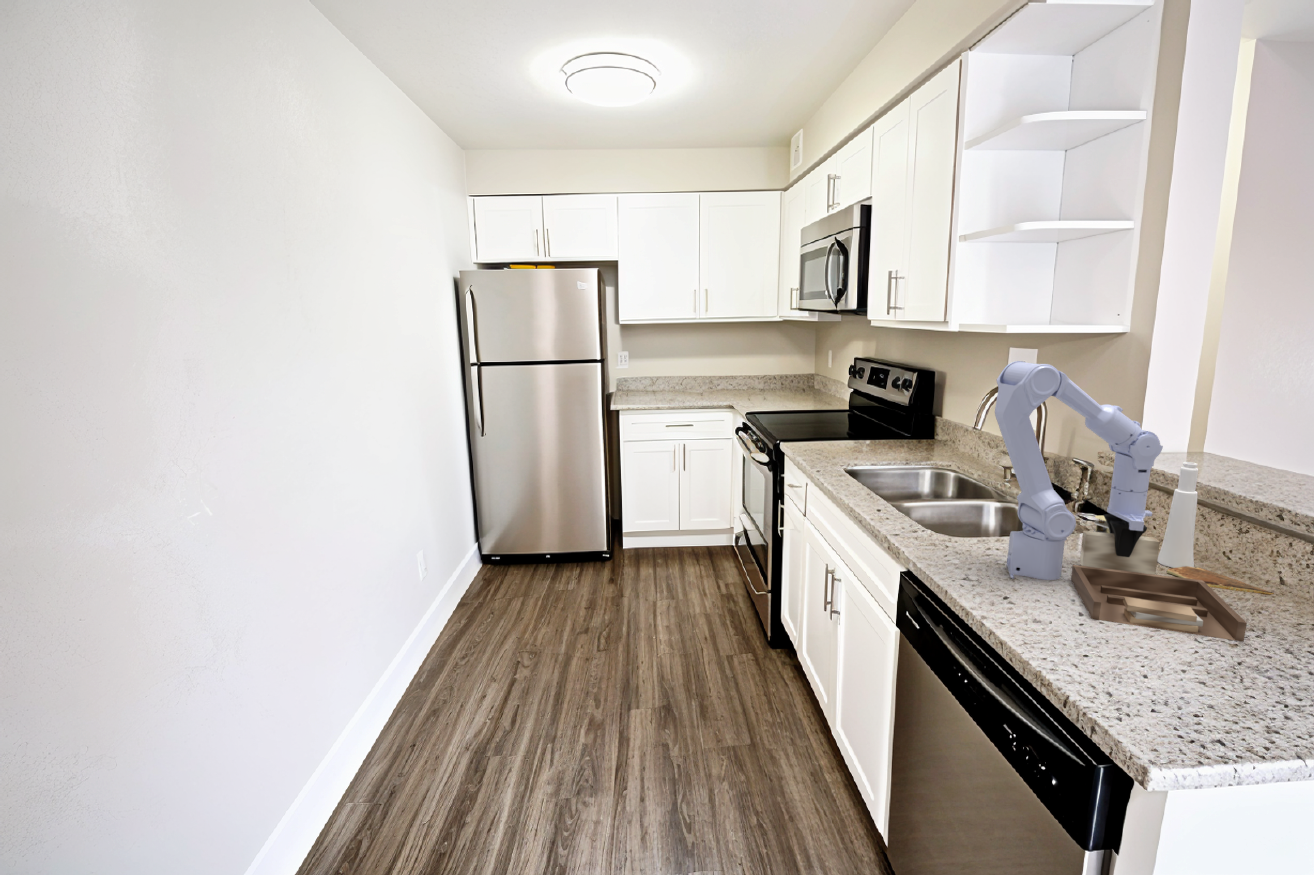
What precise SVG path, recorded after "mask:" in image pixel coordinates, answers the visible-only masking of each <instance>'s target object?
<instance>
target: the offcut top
mask: <svg viewBox="0 0 1314 875" xmlns="http://www.w3.org/2000/svg"><path fill="white" fill-rule="evenodd" d="M1123 602H1124V605H1125V607H1126V609H1127V611H1133V612H1139V613H1145V614H1150V615H1156V616H1162V617H1168V618H1174V619H1180V620H1186V621H1192V622H1196V621H1197V616H1196V614H1195V613H1194V611H1193V610H1192V608H1191V607H1186V606H1180V605H1173V604H1167V603H1161V602H1155V601H1149V600H1142V599H1136V598H1130V597H1124V600H1123Z"/></svg>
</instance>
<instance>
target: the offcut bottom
mask: <svg viewBox="0 0 1314 875" xmlns="http://www.w3.org/2000/svg"><path fill="white" fill-rule="evenodd" d="M1124 614H1125V616H1126V617H1127V619H1128V620H1129V622H1130V623H1135V624H1142V625H1148V626H1155V627H1162V628H1169V629H1175V630H1182V631H1189V632H1195V633H1198V628H1199V627H1198V626H1192V625H1184V624H1176V623H1168V622H1160V621H1152V620H1143V619H1136V618H1135V617H1134V616H1133V615H1132V614H1131V612H1130V611H1127V609H1126V608H1124Z"/></svg>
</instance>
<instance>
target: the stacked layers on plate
mask: <svg viewBox="0 0 1314 875" xmlns="http://www.w3.org/2000/svg"><path fill="white" fill-rule="evenodd" d="M1094 518H1095V519H1097V520H1095V521H1094V525H1095V526H1096V527H1095V528H1094V529H1093V532H1102V533H1110V532H1109V527H1108V524H1107V522H1106V519H1105V517H1104V515H1095V517H1094Z"/></svg>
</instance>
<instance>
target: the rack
mask: <svg viewBox="0 0 1314 875" xmlns="http://www.w3.org/2000/svg"><path fill="white" fill-rule="evenodd" d="M1070 575H1071V576H1070V582H1071V584H1072V585H1073V587H1074V589H1075V590H1076V592H1077V594H1078V596H1079V598H1080V600H1081V601H1082V603H1083V605H1084V607H1085V609H1086V611H1087V612H1088V614H1089V617H1090V618H1091V620H1096V621H1101V622H1102V621H1103V622H1108V623H1109V622H1110V623H1115V624H1123V625H1129V626H1136V627H1143V628H1148V629H1156V630H1163V631H1170V632H1176V633H1181V634H1182V633H1183V634H1189V635H1196V636H1202V637H1204V636H1205V637H1208V638H1215V639H1222V640H1223V639H1224V640H1229V641H1237V642H1245V641H1244V640H1245V635H1246V631H1247V629H1246V628H1247V625H1248V622H1247V621H1245V619H1243V618H1242V616H1240V615H1239V614H1238V612H1237V611H1235V610H1234V609H1233V608H1232V607H1231V606H1230V605H1229V604H1228V603H1227V602H1226V601H1225V600H1224V599H1223V598H1221V597H1220V596H1219V595H1218V593H1217V592H1216V591H1214V589H1212V587H1209V586H1208V585H1207V584H1206V583H1205V582H1204V581H1203V580H1195V579H1187V578H1179V577H1177V576H1170V575H1160V574H1155V575H1154V574H1146V573H1137V572H1129V571H1121V570H1113V569H1104V568H1096V567H1088V566H1082V565H1081V564H1080V565H1078V564H1072V567H1071V574H1070ZM1124 597H1130V598H1136V599H1142V600H1149V601H1155V602H1161V603H1167V604H1173V605H1180V606H1186V607H1191V608H1192V610H1193V611H1194V613H1195V614H1196V615H1197V616H1198V617H1199V618H1201V619H1202V620H1203V626H1202V627H1201V626H1198V627H1199V628H1198V633H1195V632H1189V631H1182V630H1175V629H1169V628H1162V627H1155V626H1148V625H1142V624H1135V623H1130V622H1129V620H1128V619H1127V617H1126V616H1125V614H1124V608H1126V607H1125V605H1124V602H1123V600H1124Z"/></svg>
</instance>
